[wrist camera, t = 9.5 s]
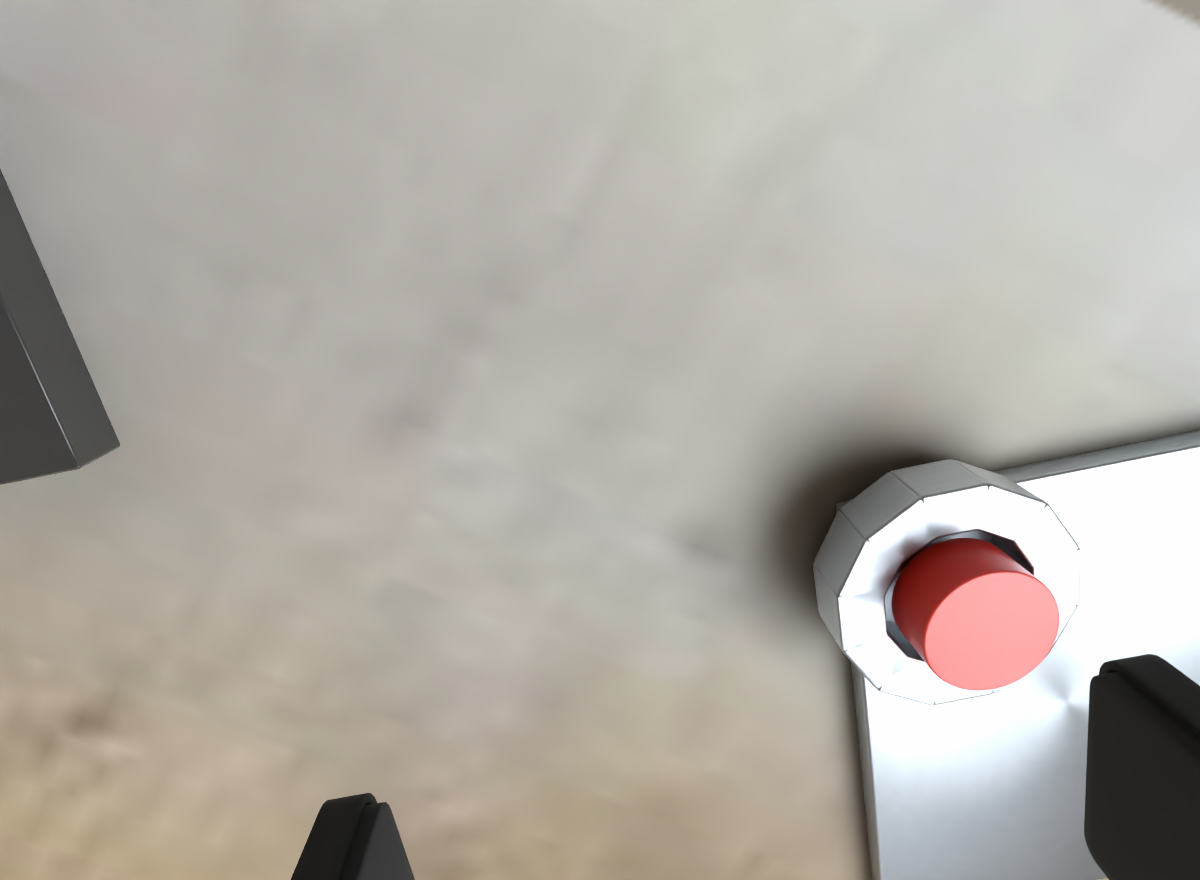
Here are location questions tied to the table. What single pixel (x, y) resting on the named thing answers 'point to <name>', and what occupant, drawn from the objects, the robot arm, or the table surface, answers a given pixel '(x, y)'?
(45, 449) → the base plate
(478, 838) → the table surface
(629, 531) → the table surface
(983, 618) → the button
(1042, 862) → the block
